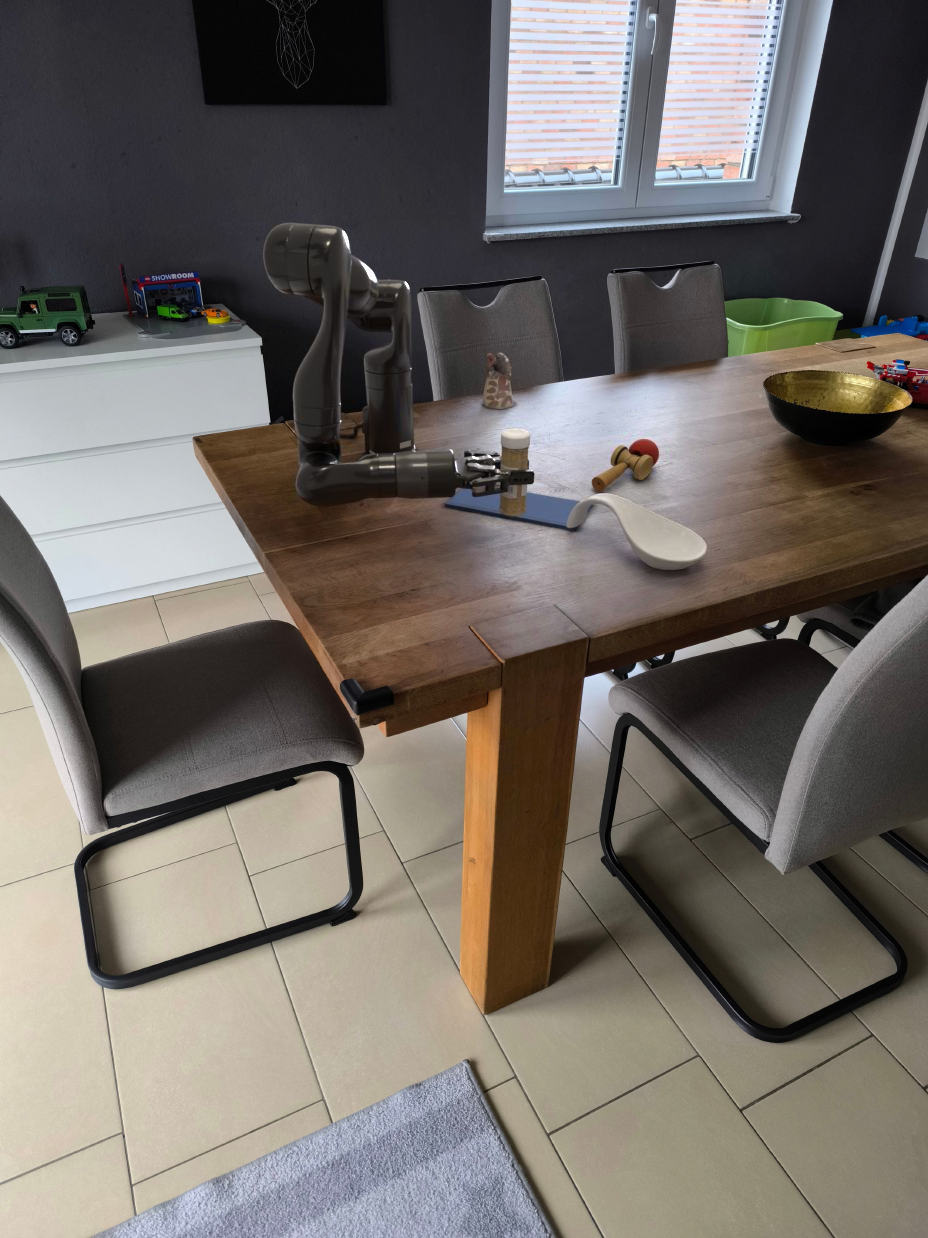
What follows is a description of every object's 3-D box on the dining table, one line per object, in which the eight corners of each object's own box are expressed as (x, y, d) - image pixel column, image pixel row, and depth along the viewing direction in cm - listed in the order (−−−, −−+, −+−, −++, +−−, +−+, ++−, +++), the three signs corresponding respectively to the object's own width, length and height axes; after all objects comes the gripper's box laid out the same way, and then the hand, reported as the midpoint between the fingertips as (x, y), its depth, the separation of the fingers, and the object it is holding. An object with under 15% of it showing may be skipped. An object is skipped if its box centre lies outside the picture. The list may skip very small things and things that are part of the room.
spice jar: (531, 513, 136) (536, 434, 129) (509, 519, 134) (512, 439, 127) (515, 503, 139) (518, 425, 132) (492, 509, 137) (495, 430, 130)
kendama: (619, 504, 152) (671, 464, 162) (614, 472, 149) (667, 433, 158) (584, 499, 157) (637, 461, 167) (579, 468, 154) (633, 431, 164)
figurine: (513, 409, 194) (515, 356, 188) (483, 408, 194) (483, 356, 188) (512, 399, 200) (514, 348, 194) (482, 399, 200) (483, 348, 194)
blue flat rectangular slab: (444, 506, 148) (444, 503, 148) (469, 484, 157) (469, 481, 156) (573, 530, 140) (574, 527, 140) (592, 505, 148) (593, 502, 148)
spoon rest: (716, 561, 131) (725, 520, 127) (678, 589, 123) (686, 546, 119) (592, 514, 144) (596, 475, 140) (551, 537, 136) (554, 496, 132)
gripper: (427, 469, 124) (540, 465, 125) (421, 435, 136) (525, 432, 137) (427, 515, 128) (537, 511, 129) (422, 478, 140) (522, 474, 141)
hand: (530, 470), depth 133 cm, fingers closed on spice jar, 4 cm apart
